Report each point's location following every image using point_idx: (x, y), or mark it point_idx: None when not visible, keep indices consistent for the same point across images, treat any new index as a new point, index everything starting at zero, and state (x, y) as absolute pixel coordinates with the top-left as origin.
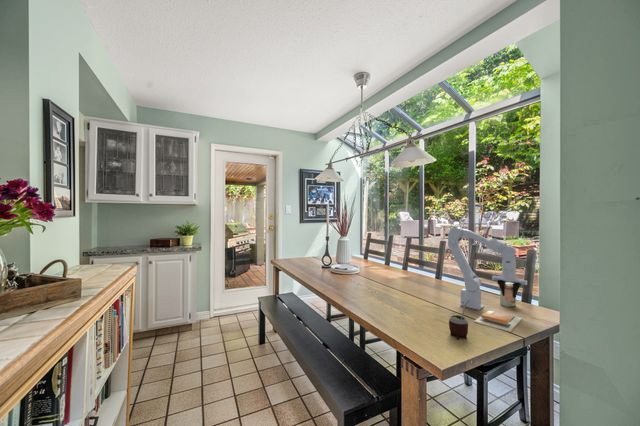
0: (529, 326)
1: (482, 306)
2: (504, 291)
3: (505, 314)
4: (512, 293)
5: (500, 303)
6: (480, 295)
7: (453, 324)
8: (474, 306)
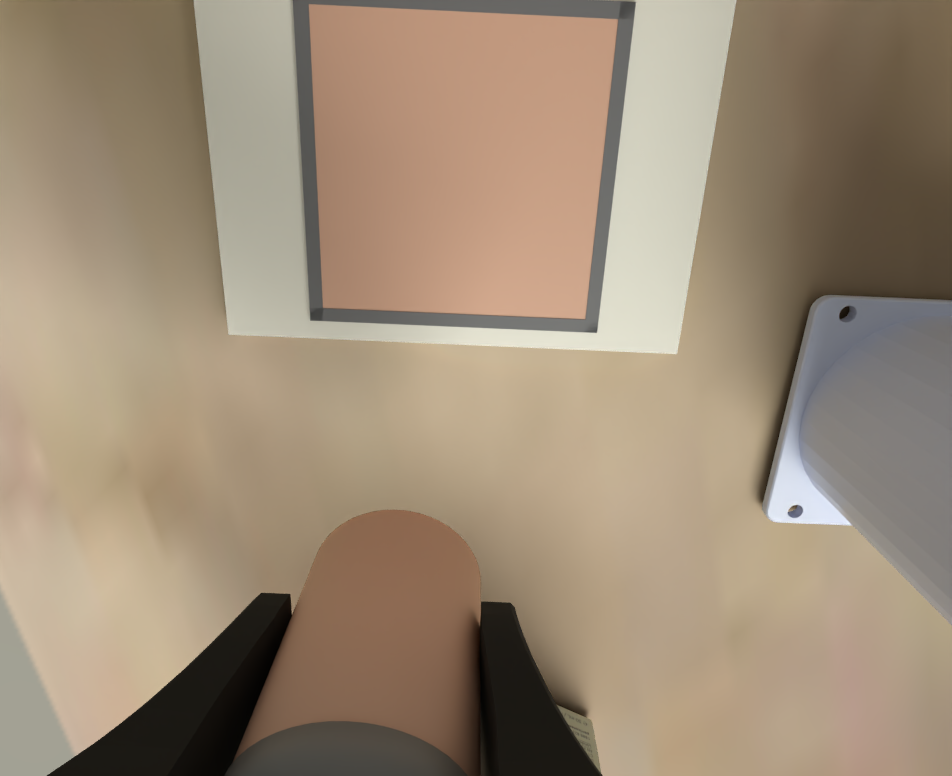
0: (62, 79)
1: (782, 466)
2: (471, 699)
3: (439, 323)
4: (273, 669)
5: (591, 728)
6: (938, 521)
7: None
8: (903, 330)
